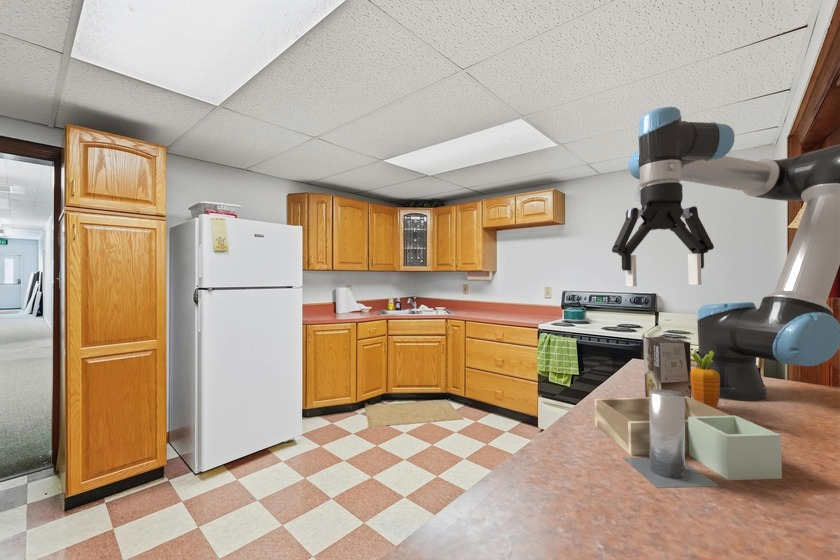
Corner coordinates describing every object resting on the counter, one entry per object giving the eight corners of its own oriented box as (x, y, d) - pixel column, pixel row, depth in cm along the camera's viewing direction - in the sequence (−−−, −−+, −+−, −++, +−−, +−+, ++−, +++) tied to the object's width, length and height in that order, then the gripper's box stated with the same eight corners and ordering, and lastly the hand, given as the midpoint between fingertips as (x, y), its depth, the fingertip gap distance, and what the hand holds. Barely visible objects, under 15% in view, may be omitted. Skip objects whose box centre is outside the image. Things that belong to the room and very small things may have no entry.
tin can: (671, 463, 61) (671, 389, 61) (692, 478, 56) (692, 398, 56) (643, 463, 61) (643, 389, 61) (661, 479, 56) (661, 398, 56)
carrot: (689, 423, 78) (687, 351, 78) (693, 417, 82) (691, 347, 82) (719, 429, 75) (718, 354, 75) (722, 422, 79) (720, 350, 79)
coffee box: (693, 416, 82) (691, 342, 82) (661, 415, 83) (659, 342, 83) (673, 402, 91) (671, 336, 91) (644, 401, 92) (642, 335, 92)
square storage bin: (736, 456, 64) (735, 415, 64) (781, 482, 56) (780, 435, 56) (689, 458, 64) (688, 416, 64) (728, 483, 56) (727, 436, 56)
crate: (687, 425, 77) (687, 396, 77) (742, 455, 64) (741, 420, 64) (595, 428, 77) (594, 398, 77) (631, 458, 64) (630, 423, 64)
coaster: (676, 460, 63) (676, 456, 63) (719, 490, 54) (719, 485, 54) (622, 461, 63) (622, 458, 63) (657, 491, 54) (657, 487, 54)
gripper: (611, 182, 76) (613, 287, 76) (733, 179, 77) (736, 284, 77) (593, 190, 84) (596, 286, 84) (705, 188, 84) (707, 283, 84)
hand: (663, 285), depth 80 cm, fingers open, 13 cm apart
